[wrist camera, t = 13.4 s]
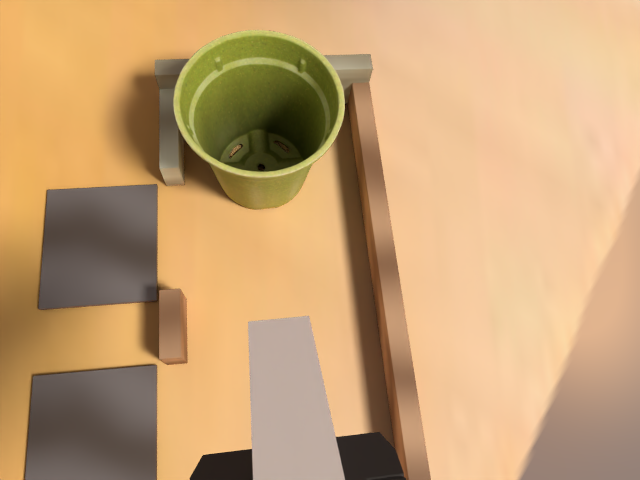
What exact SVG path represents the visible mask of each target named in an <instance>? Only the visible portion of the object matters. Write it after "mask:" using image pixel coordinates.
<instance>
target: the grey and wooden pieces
mask: <svg viewBox="0 0 640 480" xmlns="http://www.w3.org/2000/svg"><path fill="white" fill-rule="evenodd" d="M323 56H324V57H325V58H326V59H327V60H328V61H329V63H330V64H331V65H332V66H333V68H334V69H335V71H336V73H337V74H338V76H339V79H340V81H341V84H342V87H343V91H344V99H345V104H348V110H349V118H350V125H351V132H352V139H353V147H354V154H355V161H356V169H357V176H358V183H359V190H360V198H361V205H362V212H363V220H364V227H365V234H366V241H367V249H368V256H369V263H370V271H371V278H372V285H373V293H374V300H375V307H376V314H377V322H378V329H379V336H380V344H381V351H382V358H383V365H384V373H385V380H386V387H387V395H388V402H389V409H390V416H391V424H392V431H393V438H394V446H395V450H396V452H397V455H398V458H399V461H400V464H401V466H402V469H403V472H404V477H405V478H406V480H431V478H430V471H429V465H428V459H427V452H426V446H425V439H424V433H423V426H422V420H421V413H420V407H419V401H418V394H417V388H416V381H415V375H414V368H413V362H412V356H411V349H410V343H409V336H408V330H407V323H406V317H405V310H404V304H403V298H402V291H401V285H400V278H399V272H398V265H397V259H396V253H395V246H394V240H393V233H392V227H391V220H390V214H389V208H388V201H387V195H386V188H385V182H384V175H383V169H382V162H381V156H380V150H379V143H378V137H377V130H376V124H375V117H374V111H373V105H372V98H371V92H370V85H369V81H370V77H371V73H372V70H373V67H372V61H371V54H359V55H323ZM189 60H190V59H171V60H155V77H156V80H157V83H158V86H159V169H160V171H161V174H162V176H163V178H164V181H165V183H166V186H173V185H185V181H184V138H183V136H182V134H181V132H180V130H179V128H178V125H177V122H176V119H175V114H174V107H173V96H174V90H175V86H176V83H177V80H178V77H179V75H180V73H181V71H182V69H183V67H184V66H185V65H186V63H187V62H188V61H189ZM157 193H158V186H157V184H154V185H135V186H115V187H96V188H77V189H58V190H48V192H47V205H46V218H45V231H44V243H43V256H42V269H41V282H40V294H39V307H38V309H39V310H47V309H60V308H74V307H87V306H100V305H113V304H126V303H140V302H153V301H157ZM159 359H160V360H161V361H163V362H164V363H165V364H167V365H171V364H182V363H187V303H186V297H185V296H184V294H183V293H182V291H181V289H169V290H159ZM25 480H157V365H152V366H140V367H129V368H118V369H107V370H95V371H84V372H73V373H62V374H50V375H39V376H33V384H32V397H31V409H30V422H29V435H28V448H27V461H26V473H25Z"/></svg>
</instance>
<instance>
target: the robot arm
mask: <svg viewBox="0 0 640 480" xmlns="http://www.w3.org/2000/svg"><path fill="white" fill-rule="evenodd" d="M248 333H249V366H250V398H251V430H252V449H248V450H240V451H232V452H224V453H216V454H208V455H203V456H202V458H201V459H200V461H199V463H198V465H197V466H196V468H195V470H194V472H193V474H192V475H191V477H190V480H406V478H405V477H404V472H403V469H402V466H401V464H400V461H399V458H398V455H397V452H396V450H395V449H394V448H393V447H392V445H391V444H390V443H389V442H388V441H387V440H386V439H385V438H384V437H383V436H382V434H381V433H380V432H375V433H366V434H358V435H350V436H342V437H336V436H335V432H334V427H333V423H332V418H331V414H330V409H329V404H328V400H327V395H326V391H325V386H324V382H323V377H322V373H321V368H320V363H319V359H318V354H317V350H316V345H315V341H314V336H313V332H312V327H311V323H310V318H309V316H303V317H292V318H282V319H271V320H261V321H250V322H248Z"/></svg>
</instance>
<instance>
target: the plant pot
mask: <svg viewBox="0 0 640 480" xmlns="http://www.w3.org/2000/svg"><path fill="white" fill-rule="evenodd" d="M173 107H174V114H175V119H176V122H177V125H178V128H179V130H180V132H181V134H182V136H183V138H184V139H185V141H186V142H187V144H188V145H189V146H190V148H191V149H192V150H193V151H194V152H195V153H196V154H197V155H198V156H199V157H201V158H202V159H203V160H204V161H206V162H207V163H209V164H210V166H211V168H212V170H213V172H214V174H215V176H216V178H217V180H218V181H219V183H220V185H221V187H222V189H223V190H224V192H225V193H226V194H227V195H228V196H229V197H230V198H231V199H232V200H233V201H235V202H236V203H238V204H240V205H242V206H244V207H247V208H250V209H267V208H277V207H279V206H282V205H284V204H286V203H287V202H289V201H290V200H292V199H293V198H294V197H295V196H296V195H297V193H298V192H299V191H300V189H301V187H302V185H303V183H304V181H305V179H306V177H307V174H308V172H309V170H310V168H311V166H312V164H313V163H314V162H316V161H317V160H318V159H319V158H321V157H322V156H323V155H324V154H325V152H326V151H327V150H328V149H329V148H330V146H331V145H332V143H333V142H334V140H335V138H336V137H337V135H338V132H339V130H340V127H341V125H342V122H343V117H344V110H345V99H344V91H343V87H342V84H341V81H340V79H339V76H338V74H337V73H336V71H335V69H334V68H333V66H332V65H331V64H330V63H329V61H328V60H327V59H326V58H325V57H324V56H323V55H322V54H321V53H320V52H319V51H318V50H316V49H315V48H314V47H312V46H311V45H309V44H308V43H306V42H304V41H302V40H300V39H298V38H296V37H293V36H290V35H287V34H284V33H280V32H275V31H266V30H247V31H240V32H236V33H232V34H228V35H225V36H222V37H220V38H217V39H215V40H213V41H211V42H210V43H208V44H207V45H205V46H203V47H202V48H201V49H199V50H198V51H197V52H196V53H195V54H194V55H193V56H192V57H191V58H190V60H189V61H188V62H187V63H186V65H185V66H184V67H183V69H182V71H181V73H180V75H179V77H178V80H177V83H176V86H175V90H174V96H173ZM274 141H279V142H281V143H283V144H284V145H286V146H287V147H288V148H289V152H288V153H287V152H286V151H284V150H283V149H282V148H281V147H280V146H278V145H277V144H275V143H273V142H274ZM240 144H242V145H243V147H242V148H241V149H240V150H238V151H237V152H236V153H235V154H234V155H233V156H232V158H230V153H231V151H232V150H233V148H234V147H236V146H237V145H240ZM260 164H263V165H264V166H265V169H264V170H262V171H261V170H259V169H258V165H260Z"/></svg>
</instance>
